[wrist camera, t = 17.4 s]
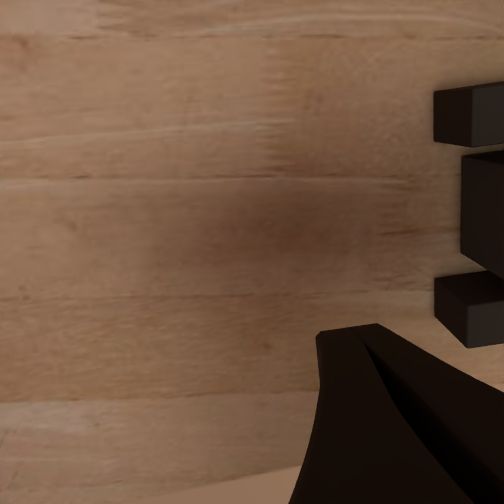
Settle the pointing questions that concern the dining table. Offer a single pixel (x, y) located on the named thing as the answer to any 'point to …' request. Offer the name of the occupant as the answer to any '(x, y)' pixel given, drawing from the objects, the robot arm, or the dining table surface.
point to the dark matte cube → (483, 210)
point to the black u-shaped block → (483, 283)
